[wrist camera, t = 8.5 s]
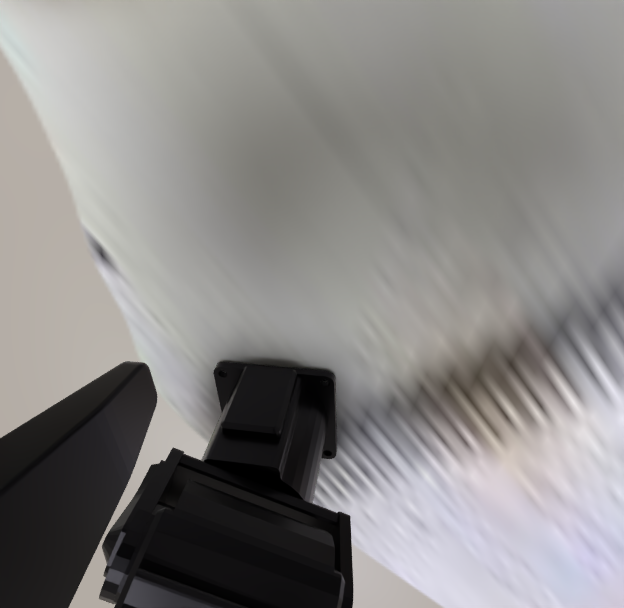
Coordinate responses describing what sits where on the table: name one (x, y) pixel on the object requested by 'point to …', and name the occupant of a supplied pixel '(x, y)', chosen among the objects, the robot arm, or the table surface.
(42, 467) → the robot arm
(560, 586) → the table surface
